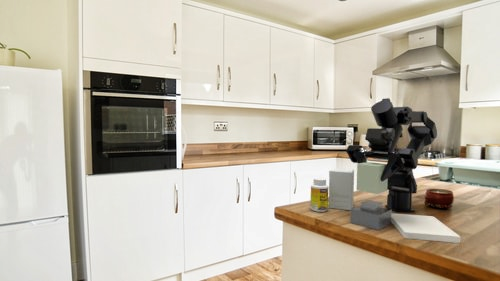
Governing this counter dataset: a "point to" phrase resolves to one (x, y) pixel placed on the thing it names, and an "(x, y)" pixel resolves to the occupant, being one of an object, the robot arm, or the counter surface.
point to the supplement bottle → (319, 195)
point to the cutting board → (423, 228)
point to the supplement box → (341, 188)
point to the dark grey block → (371, 215)
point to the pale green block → (371, 178)
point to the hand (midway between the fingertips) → (369, 178)
